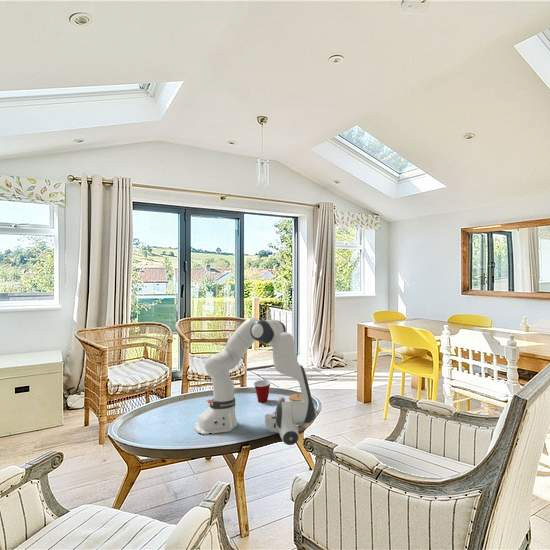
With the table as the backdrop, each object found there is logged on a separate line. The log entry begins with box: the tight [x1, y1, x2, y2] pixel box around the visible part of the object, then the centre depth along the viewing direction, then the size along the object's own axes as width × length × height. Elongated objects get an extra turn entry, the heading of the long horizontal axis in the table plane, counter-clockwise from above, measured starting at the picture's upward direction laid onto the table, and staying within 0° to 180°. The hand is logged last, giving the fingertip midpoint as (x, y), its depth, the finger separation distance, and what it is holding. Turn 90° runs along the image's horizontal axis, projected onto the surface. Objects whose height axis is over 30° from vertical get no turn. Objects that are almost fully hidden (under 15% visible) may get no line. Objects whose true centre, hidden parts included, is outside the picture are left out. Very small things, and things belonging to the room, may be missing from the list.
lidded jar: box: [288, 393, 303, 402], centre depth 216 cm, size 11×11×9 cm
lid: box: [278, 396, 286, 404], centre depth 202 cm, size 12×12×12 cm
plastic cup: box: [253, 379, 271, 404], centre depth 231 cm, size 11×11×12 cm
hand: (283, 413), depth 195 cm, fingers open, 8 cm apart
